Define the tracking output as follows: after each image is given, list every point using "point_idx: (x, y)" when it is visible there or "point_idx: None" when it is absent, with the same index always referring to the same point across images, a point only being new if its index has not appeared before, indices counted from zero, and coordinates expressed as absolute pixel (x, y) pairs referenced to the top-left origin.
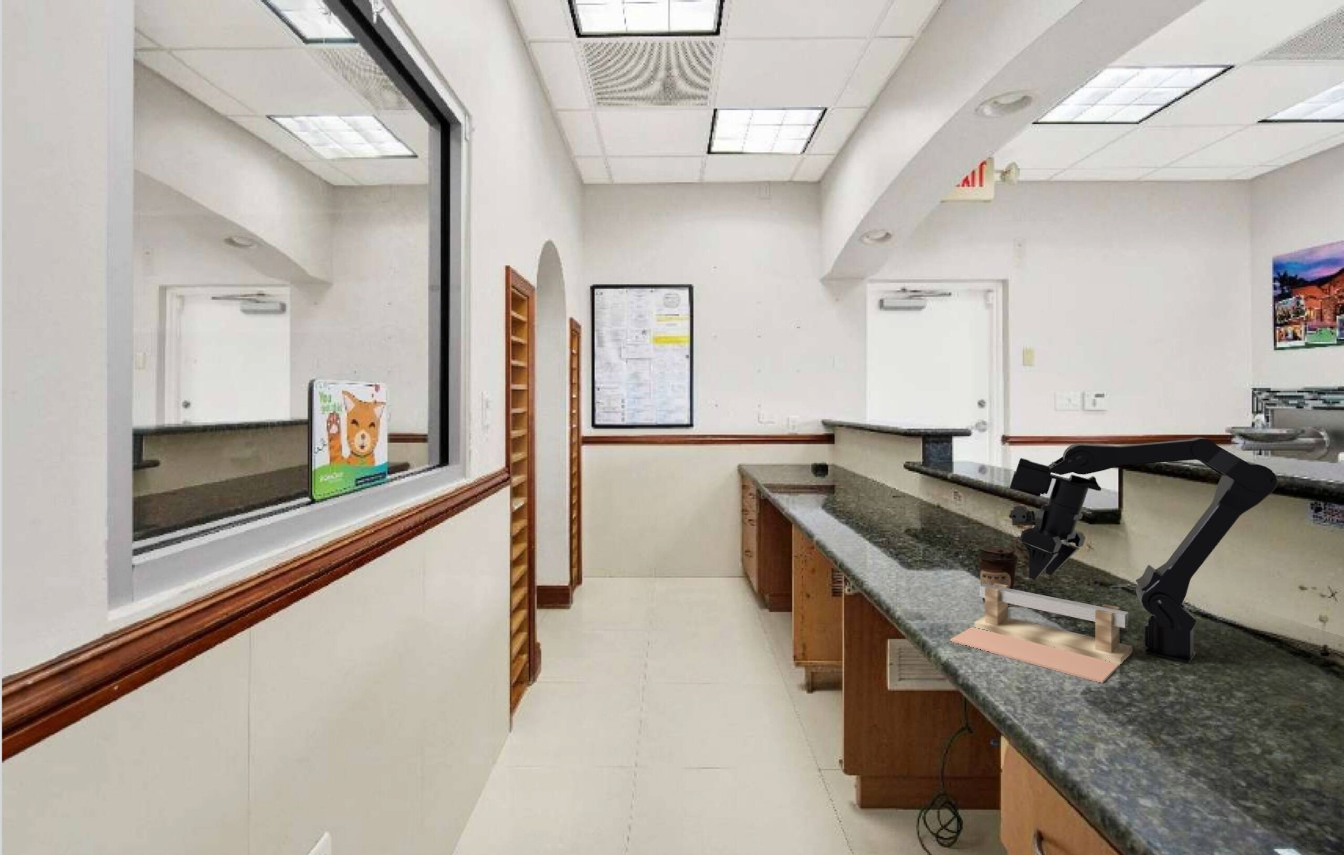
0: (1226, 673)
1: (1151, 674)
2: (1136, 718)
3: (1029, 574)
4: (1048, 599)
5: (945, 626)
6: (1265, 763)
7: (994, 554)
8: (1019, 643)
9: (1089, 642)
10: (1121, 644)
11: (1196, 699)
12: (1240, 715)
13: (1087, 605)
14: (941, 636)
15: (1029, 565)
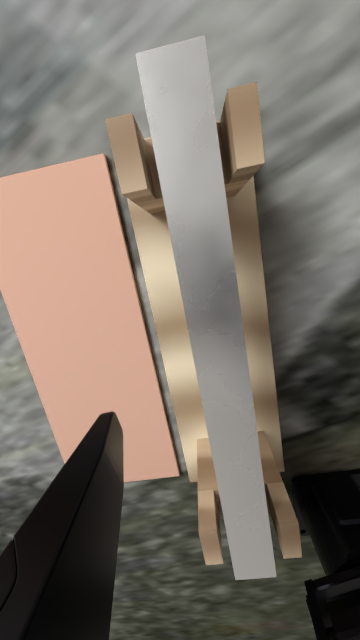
0: (299, 566)
1: (189, 510)
2: (6, 545)
3: (88, 432)
4: (206, 391)
5: (48, 84)
6: None
7: None
8: (107, 312)
9: None
10: (276, 456)
11: (145, 567)
12: (141, 603)
13: (247, 494)
14: None
15: (39, 501)
